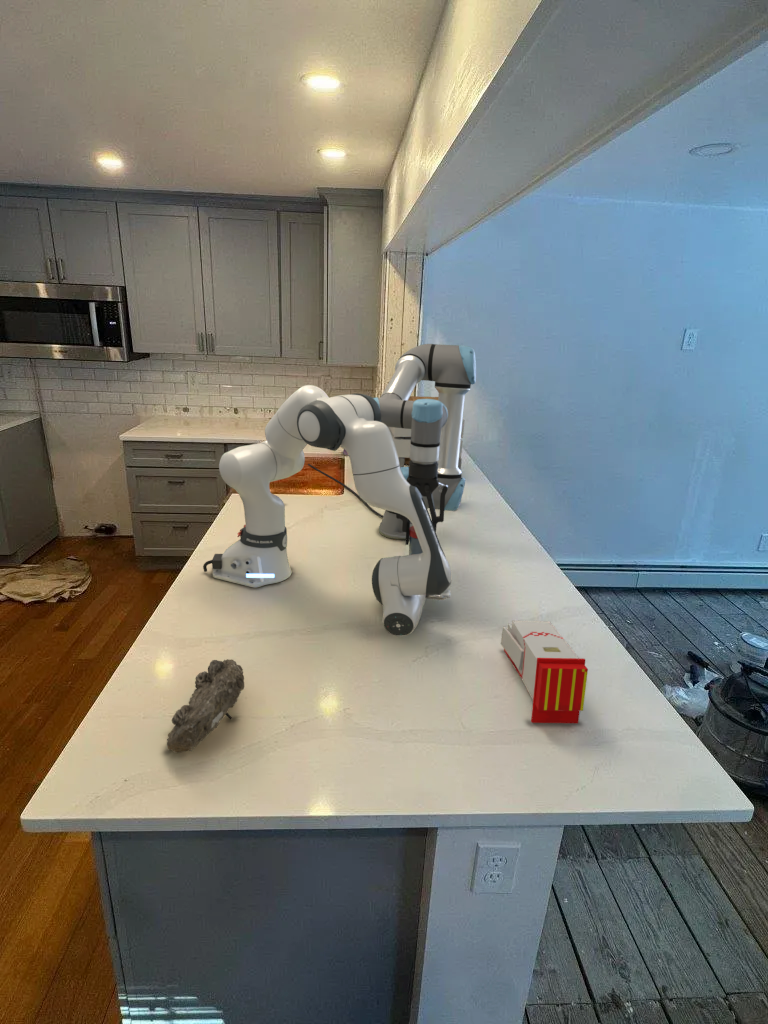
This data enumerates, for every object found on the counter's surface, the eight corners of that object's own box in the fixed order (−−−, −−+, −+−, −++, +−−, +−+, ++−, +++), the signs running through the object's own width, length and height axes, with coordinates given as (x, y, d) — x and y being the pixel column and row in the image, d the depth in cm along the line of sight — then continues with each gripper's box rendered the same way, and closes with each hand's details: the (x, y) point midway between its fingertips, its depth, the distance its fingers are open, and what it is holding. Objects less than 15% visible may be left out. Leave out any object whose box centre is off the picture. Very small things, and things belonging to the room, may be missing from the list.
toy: (547, 606, 135) (596, 665, 106) (541, 658, 138) (589, 729, 108) (496, 604, 134) (532, 664, 105) (492, 657, 137) (526, 729, 108)
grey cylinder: (404, 589, 160) (408, 527, 154) (420, 588, 162) (424, 526, 155) (409, 597, 156) (413, 534, 150) (425, 596, 157) (430, 533, 151)
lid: (406, 531, 155) (407, 525, 154) (425, 530, 156) (425, 524, 155) (412, 539, 150) (412, 533, 149) (431, 538, 151) (431, 532, 150)
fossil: (192, 660, 117) (244, 628, 112) (224, 691, 120) (276, 661, 115) (142, 746, 98) (202, 712, 93) (182, 779, 101) (242, 748, 96)
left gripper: (450, 588, 142) (454, 565, 155) (370, 577, 145) (381, 556, 158) (448, 610, 144) (453, 586, 157) (370, 599, 147) (380, 576, 160)
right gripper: (459, 459, 148) (452, 541, 156) (390, 454, 150) (386, 535, 158) (459, 467, 141) (452, 552, 149) (386, 461, 143) (383, 546, 151)
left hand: (416, 571), depth 157 cm, fingers closed on grey cylinder, 5 cm apart
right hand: (418, 543), depth 154 cm, fingers closed on lid, 5 cm apart
